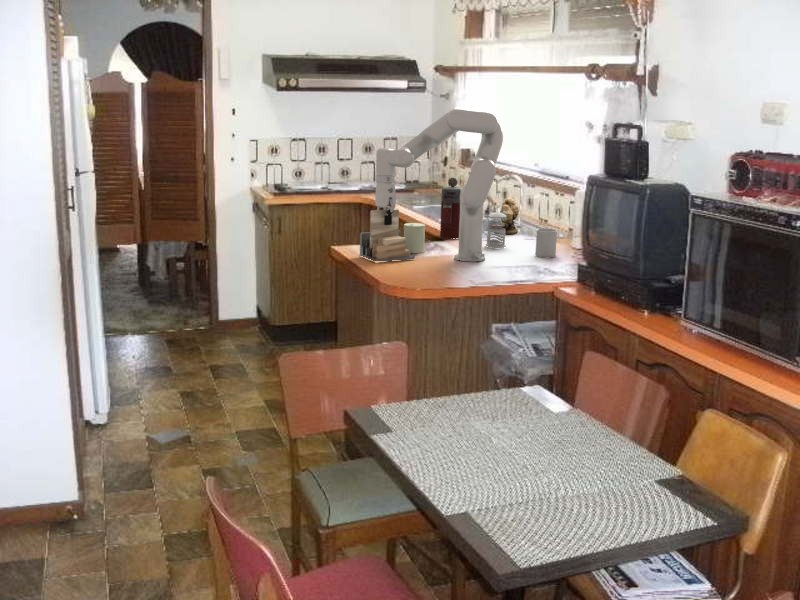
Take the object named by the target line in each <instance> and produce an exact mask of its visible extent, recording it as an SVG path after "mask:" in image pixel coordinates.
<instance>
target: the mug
mask: <svg viewBox="0 0 800 600" xmlns="http://www.w3.org/2000/svg"><path fill="white" fill-rule="evenodd" d="M557 236H558V230H556V229H553V228H538V229H536V236H535V237H536V238H535V239H536V240H535V253H534V255H535V257H539V258H545V257H550V258H555V257H556V253H557V241H558V240H557Z"/></svg>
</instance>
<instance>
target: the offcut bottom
mask: <svg viewBox="0 0 800 600" xmlns="http://www.w3.org/2000/svg"><path fill="white" fill-rule="evenodd" d="M410 255H411V253H410V250H407V249H405V251H392V252H376V251H374V250H372V256H373V257H375V258H378V259H383V258H396V257H408V256H410Z"/></svg>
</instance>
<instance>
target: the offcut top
mask: <svg viewBox="0 0 800 600" xmlns="http://www.w3.org/2000/svg"><path fill="white" fill-rule="evenodd" d="M378 244H379V245H383V246H392V245H401V244H406V238H404V236H401V237H400V236H394V237H385V238H379V241H378Z"/></svg>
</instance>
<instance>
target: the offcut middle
mask: <svg viewBox="0 0 800 600" xmlns="http://www.w3.org/2000/svg"><path fill="white" fill-rule="evenodd" d="M405 246H406V244H401V245H392V246H383V245H379V244H373V250H374V251H376V252H392V251H405Z"/></svg>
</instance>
